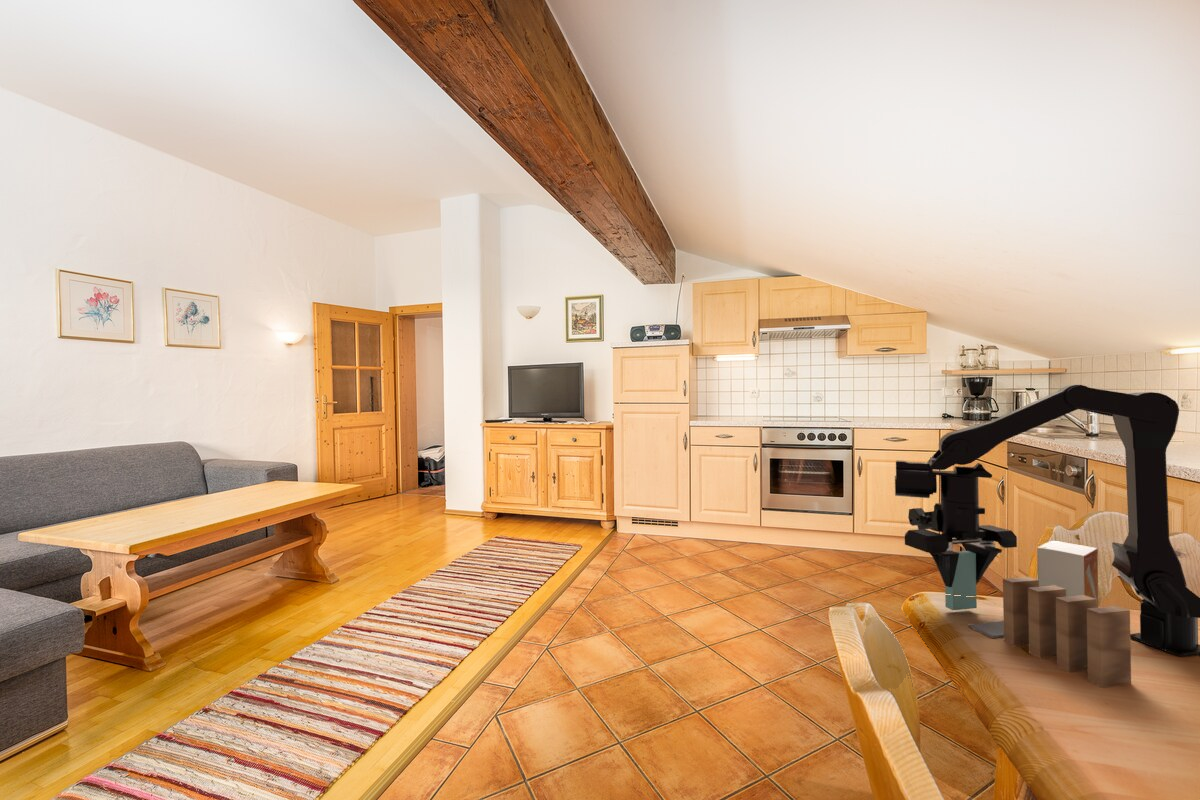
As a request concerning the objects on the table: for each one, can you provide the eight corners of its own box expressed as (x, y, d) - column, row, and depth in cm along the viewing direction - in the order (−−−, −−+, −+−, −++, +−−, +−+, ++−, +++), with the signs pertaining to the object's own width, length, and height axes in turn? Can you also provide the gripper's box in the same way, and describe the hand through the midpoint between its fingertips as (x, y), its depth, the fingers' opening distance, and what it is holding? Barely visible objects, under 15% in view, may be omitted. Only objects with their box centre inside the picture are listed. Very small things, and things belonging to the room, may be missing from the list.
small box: (1085, 634, 83) (1084, 555, 83) (1036, 621, 88) (1035, 546, 88) (1100, 622, 87) (1098, 547, 87) (1052, 610, 93) (1051, 539, 93)
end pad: (1003, 623, 87) (1003, 620, 87) (1028, 634, 83) (1028, 632, 83) (968, 626, 86) (968, 624, 86) (992, 638, 82) (992, 635, 82)
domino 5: (1117, 677, 70) (1115, 605, 70) (1131, 683, 68) (1129, 610, 69) (1087, 681, 69) (1086, 608, 69) (1101, 687, 68) (1100, 613, 68)
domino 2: (1029, 638, 82) (1028, 576, 82) (1040, 642, 80) (1038, 580, 80) (1003, 640, 81) (1002, 578, 81) (1013, 645, 79) (1012, 582, 79)
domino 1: (968, 604, 93) (967, 550, 93) (976, 608, 92) (975, 553, 92) (945, 606, 92) (944, 552, 93) (953, 610, 91) (952, 555, 91)
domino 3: (1056, 649, 78) (1054, 585, 78) (1067, 654, 76) (1066, 589, 76) (1029, 653, 77) (1027, 587, 77) (1039, 658, 75) (1038, 591, 76)
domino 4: (1085, 662, 74) (1083, 594, 74) (1097, 668, 72) (1096, 599, 72) (1056, 666, 73) (1055, 597, 73) (1068, 672, 72) (1067, 601, 72)
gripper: (964, 490, 102) (965, 567, 102) (882, 494, 99) (883, 574, 98) (1018, 501, 91) (1020, 587, 91) (928, 506, 88) (930, 595, 87)
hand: (960, 585), depth 92 cm, fingers closed on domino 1, 5 cm apart
